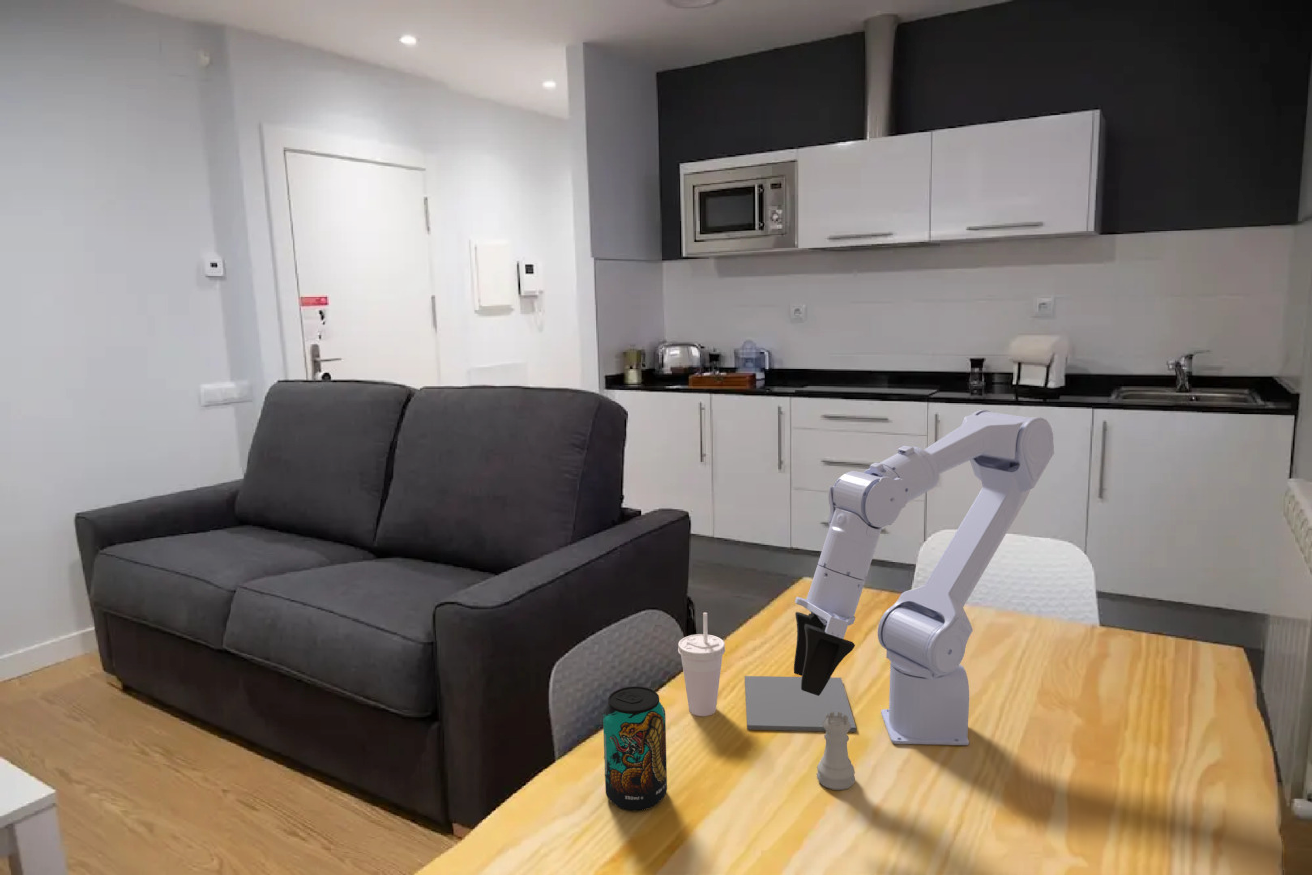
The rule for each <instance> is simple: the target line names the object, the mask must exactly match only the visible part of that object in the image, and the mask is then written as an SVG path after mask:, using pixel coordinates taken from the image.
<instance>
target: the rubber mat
mask: <svg viewBox="0 0 1312 875" xmlns="http://www.w3.org/2000/svg"><path fill="white" fill-rule="evenodd" d="M801 680H802V676H772V675H771V676H768V675H767V676H765V675H763V676H761V675H759V676H758V675H744V690H745V691H744V692H745V710H746V711H745V714H746V729H747V730H752V731H753V730H756V731H757V730H759V731H798V732H799V731H802V732H806V731H808V732H826V730H825V728H824V727H823V724H822V723H823V722H824V720H825V719H826V715H827V714H828V715H829V717H830V713H831V712H834V716H838V712H839V713H842V717H843V716H844V715H846V716H847V717H848V722H849V723H850V724H851V729H850V730H849V731H848V732H847V733H850V732H851V733H853V732H854V733H856V732H857V727H856V723H855V720H854V717H853V713H852V710H851V706H850V703H849V699H848V696H847V693H846V688H845V687H844V682H843V680H842V677H834V676H833V677H832V676H831V677H830V679H829V681H828V683H827V684H826V686H825V688H824V689H823V691H822V692H821V694H820V695H819V696H817V695H814V694H811V693H808V692H806V691H803V690H802V689H801Z"/></svg>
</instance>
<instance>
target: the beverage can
mask: <svg viewBox="0 0 1312 875" xmlns="http://www.w3.org/2000/svg"><path fill="white" fill-rule="evenodd" d="M607 701H608V702H607V704H606V706H605V708H604V710H603V713H602V723H603V724H602V725H603V727H602V728H603V750H604V751H603V752H604V753H603V754H604V758H603V759H604V780H605V781H604V782H605V787H604V788H605V794H606V798H607V799H608V800H609V801H610V802H611V803H613V805H615V806H616V808H617V807H618V808H619V809H621V810H625V811H630V812H639V811H640V812H641V811H646V810H649V809H651V808H653V807H655V806H657V805H658V804H659V803H660V802H661V801H662V800H663V799H664V797H665V796H666V794H667V790H668V775H667V774H668V773H667V772H668V770H667V731H666V730H667V729H666V728H667V727H666V724H667V723H666V718H667V717H666V710H665V707H664V706H663V704H662V703H661V702H660V695H659V694H658V692H656V691H655V690H653V689H651V688H648V687H645V686H627V687H622V688H618V689H616V690H614V691H613V692H611V693H610V695H609V696H608V699H607Z"/></svg>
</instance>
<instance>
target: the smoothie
mask: <svg viewBox="0 0 1312 875" xmlns="http://www.w3.org/2000/svg"><path fill="white" fill-rule="evenodd" d="M702 614H703V615H702V617H703V618H702V622H703V623H702V624H703V625H702V627H703V630H702V631H703V634H702V633H698V634H690V635H688V636H685V637H683V638H681V639H680V640H679V641H678V648H677V649H678V650H677V652H678V654H679V655H680V656H681V666H682V670H683V678H684V684H685V692H686V697H687V698H686V699H687V705H688V711H689V713H691V715H693V716H697V717H708V716H711V715H713V714H714V713H715V712H716V711H717V704H718V696H719V689H720V688H719V686H720V678H721V672H722V671H721V670H722V662H723V655H724V653H725V652H726V644H725V641H724V640H723V639H722V638H720V637H718V636H716V635H712V634H708V612H703V613H702Z"/></svg>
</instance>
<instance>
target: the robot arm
mask: <svg viewBox="0 0 1312 875" xmlns="http://www.w3.org/2000/svg"><path fill="white" fill-rule="evenodd" d="M1054 451H1055V449H1054V433H1053V428H1052V426H1051V424H1050V422H1049V421H1048V420H1047V419H1045V418H1043V417H1041V416H1040V417H1039V416H1034V417H1031V416H1022V415H1015V414H1010V413H1001V412H995V411H991V410H990V411H989V410H986V409H979V410H976V411H974V412H973V413H972V414H969V415H965V416H964V418H962V422H961V425H960V426H959V427H957V428H956V429H954V430H952V431H951V432H949V433H947V434H945V435H944V436H943V437H941V438H939V439H938V440H937V441H935V442H934V443H932V444H931V445H929V446H928V447H926V448H921V447H918V446H909V445H903V446H901V447H899V448H898V449H897V453H895V454H894V455H891V456H890V457H888V458H886V459H884V460H882V461H880V462H877V461H876V462H874V463H871V464H870V465H869V468H867V469H865V470H864V471H862V472H861V471H856V470H851V471H847V472H846V473H844V474H843V475H841V476H840V477H838V479H837V480H836V481H835V483H834V484H833V486H829V489H828V505H829V508H830V510H829V516H828V518H827V521H828V524H827V525H828V526H829V527H828V530H827V533H826V537H825V540H824V543H823V545H822V546H823V547H822V549H821V553H820V556H819V559H818V562H817V565H816V569H815V572H814V575H813V579H812V581H811V583H810V588H809V590H808V593H807V596H806V598H803V597H799V596H796V597H795V600H794V602H795V604H796V605H798V606H800V607H803V608H805V610H808V611H809V612H810V613H808V614H806V613H803V612H798V611H796V612H795V621H796V632H797V633H796V634H797V635H796V644H795V645H796V646H795V655H794V660H793V674H795V675H797V676H798V675H799V676H800V677H802V680H801V689H802V690H803V691H806V692H808V693H811V694H814V695H817V696H819V695H820V694H821V692H822V691H823V689H824V688H825V686H826V684H827V683H828V681H829V679H830V677H832V675H833V674H834V672H835V670H836V669H837V668H838V666H839V664H840V663H841V662H842V661H843V660H844V659H845V658H846V657H847V655H849V653H851V652H852V651H853V650H854V648H855V646H856V644H855V642H853V641H851V640H848V639H845V636H846V634H847V633H846V632H847V629H848V627H849V626H851V625H853V624H854V623H855V620H856V617H855V614H856V612H857V607H858V605H859V602H860V598H861V595H862V592H863V589H864V586H865V582H866V579H867V577H868V573H869V570H870V567H871V563H872V561H873V558H874V555H875V552H876V551H875V550H876V548H877V545H878V542H879V539H880V535H881V533H882V530H883V528H885V527H887V526H891V525H893V524H894V523H895V521H896V520H897V519H898V517H899V515H900V513H901V510H902V509H904V508H905V507H906V505H907V504H908V503H909V502H910V503H911V501H913V500H915V499H917V498H919V497H920V496H922V495H924V494H925V493H927V492H929V491H931V490H933V489H934V488H935V487H936V486H937V484H939V480H940V474H943V473H945V472H947V471H949V470H951V469H954V468H957V466H958V467H959V466H960V465H963V464H964V463H967V462H969V463H970V464H971V468H972V470H973V473H974V476H975V477H976V478H977V479H978V480H979V481H981V485H982V487H981V489H980V491H979V493H978V495H976V498H975V499H974V501H973V503H972V504H971V506H970V508H969V509H968V511H967V512H966V515H965V516H964V518H963V520H961V523H960V525H959V526H958V528H957V530H956V531H955V533H954V534H953V537H951V540H950V541H949V543H948V544H947V547H945V550H944V551H943V553H942V555H941V557H940V558H939V559H938V561H937V563H936V565H935V567H934V568H933V569H932V571H931V573H930V575H929V577H928V578H927V579H926V582H924V584H923V585H921V586H919V587H915V588H913V589H912V588H911V589H909V590H906V591H903V592H902V593H901V594H900V596H899V597H898V599H897V600H896V602H894V604H893V605H891V606H890V607H888V609H886V611H885V612H884V613H883V614H882V616H881V617H880V620H879V622H878V626H877V637H878V642H879V644H880V646H881V647H882V648H884V649H885V650H886V658H887V660H889V662H890V663H889V664H890V667H889V668H890V670H889V693H888V694H889V696H888V697H889V698H888V699H889V703H888V709H887V708H883V709H881V710H880V714H881V717H882V719H883V723H884V726H885V728H886V730H887V734H888V736H889V739H890V742H891V743H893V744H895V745H896V744H898V745H901V744H903V745H910V744H911V745H937V746H938V745H939V746H940V745H943V746H945V745H946V746H968V745H970V741H969V739H968V732H969V713H970V712H969V711H970V710H969V709H970V684H969V680H968V675H967V674H968V673H967V670H966V669H965V667H964V666H963V665H962V664H961V663H962V661H963V659H964V657H965V653H966V648H967V647H966V646H967V643H968V641H969V639H970V637H971V634H972V633H973V627H972V624H971V622H970V619H969V617H968V615H967V612H966V611H965V609H964V607H965V605H966V604H967V601H968V599H969V598H970V596H971V595H972V593H973V591H974V590H975V588H976V586H977V584H978V583H979V581H980V579H981V577H983V575H984V572H985V571H986V569H987V567H988V566H989V564H990V562H991V560H992V559H993V557H994V555H995V553H996V552H997V550H998V548H999V546H1000V545H1001V543H1002V541H1003V540H1004V538H1005V537H1006V535H1007V533H1008V531H1009V529H1010V528H1011V526H1012V524H1013V522H1014V521H1015V519H1016V517H1017V516H1018V514H1019V512H1020V511H1021V509H1022V507H1023V505H1024V504H1025V503H1026V500H1027V499H1028V496H1029V494H1030V491H1031V490H1032V489H1034V488H1035V486H1036V485H1037V483H1038V481H1039V480H1040V478H1041V476H1042V475H1043V473H1044V471H1045V469H1046V468H1047V466H1048V464H1049V463H1050V461H1051V459H1052V457H1053V456H1054V454H1055V452H1054Z"/></svg>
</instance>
